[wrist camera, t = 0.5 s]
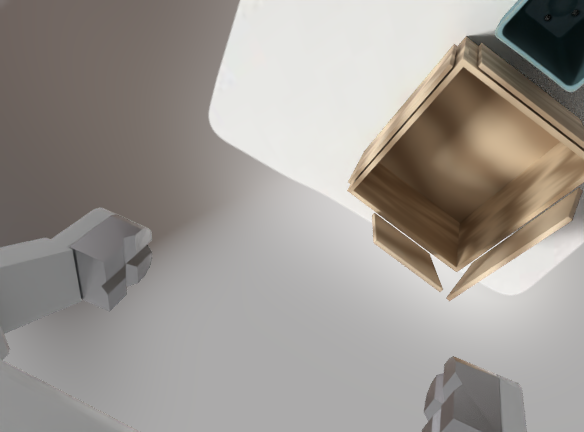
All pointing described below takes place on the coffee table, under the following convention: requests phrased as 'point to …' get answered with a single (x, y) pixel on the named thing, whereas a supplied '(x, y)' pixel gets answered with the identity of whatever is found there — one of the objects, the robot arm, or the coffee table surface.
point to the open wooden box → (470, 156)
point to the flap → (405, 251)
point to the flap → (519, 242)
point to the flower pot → (548, 38)
